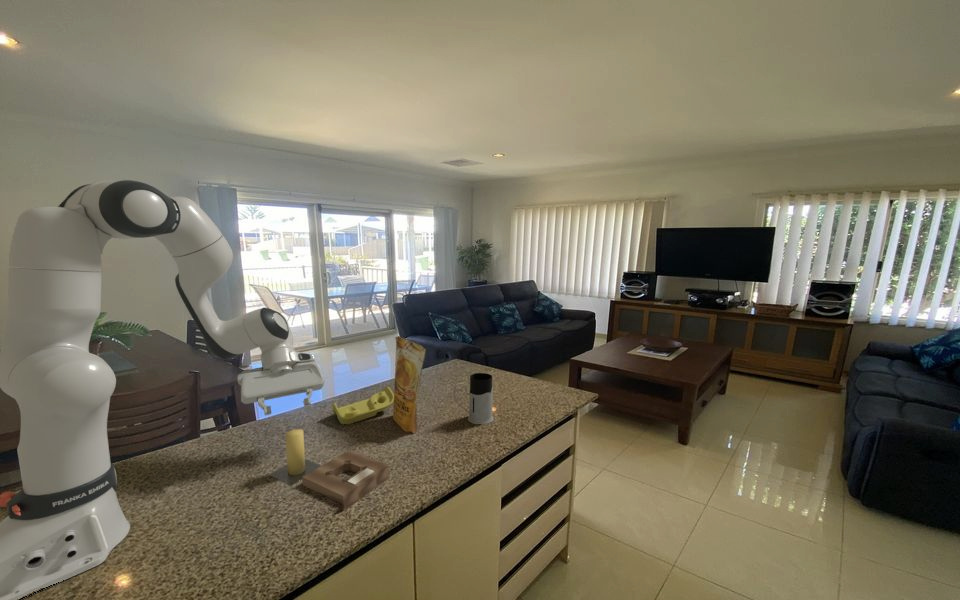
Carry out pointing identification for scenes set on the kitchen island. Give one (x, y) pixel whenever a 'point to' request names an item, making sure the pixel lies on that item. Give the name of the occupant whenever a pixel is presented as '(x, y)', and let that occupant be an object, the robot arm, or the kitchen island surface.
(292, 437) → the peg
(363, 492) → the hole block
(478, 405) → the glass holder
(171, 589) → the kitchen island surface
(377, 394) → the plastic component
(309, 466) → the plate
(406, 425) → the pancake mix bag
